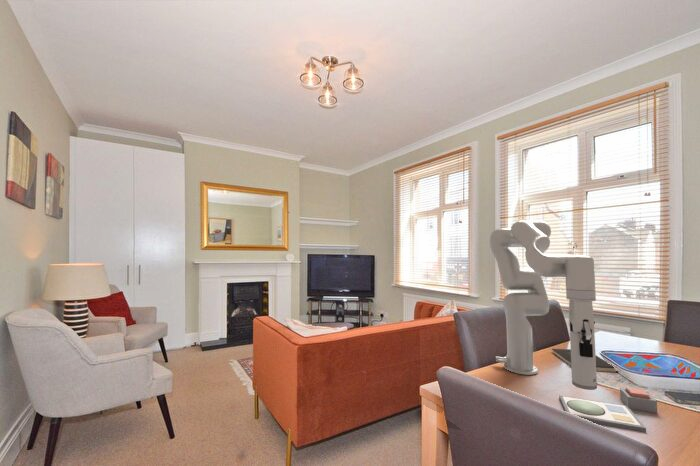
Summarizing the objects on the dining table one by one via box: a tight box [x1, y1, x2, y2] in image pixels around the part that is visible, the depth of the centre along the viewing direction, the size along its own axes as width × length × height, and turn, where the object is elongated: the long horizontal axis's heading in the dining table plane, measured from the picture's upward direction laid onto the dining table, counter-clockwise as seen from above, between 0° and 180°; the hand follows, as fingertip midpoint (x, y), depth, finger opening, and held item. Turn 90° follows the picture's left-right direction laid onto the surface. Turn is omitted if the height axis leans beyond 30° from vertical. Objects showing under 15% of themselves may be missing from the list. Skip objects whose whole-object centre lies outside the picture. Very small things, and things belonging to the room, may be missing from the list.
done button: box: [625, 386, 649, 399], centre depth 103 cm, size 4×4×2 cm
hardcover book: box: [551, 348, 617, 373], centre depth 144 cm, size 16×23×2 cm
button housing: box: [619, 387, 658, 413], centre depth 103 cm, size 7×7×4 cm
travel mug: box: [569, 321, 598, 391], centre depth 101 cm, size 6×7×20 cm
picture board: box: [558, 395, 647, 433], centre depth 98 cm, size 18×14×1 cm
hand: (583, 352), depth 101 cm, fingers closed on travel mug, 6 cm apart
